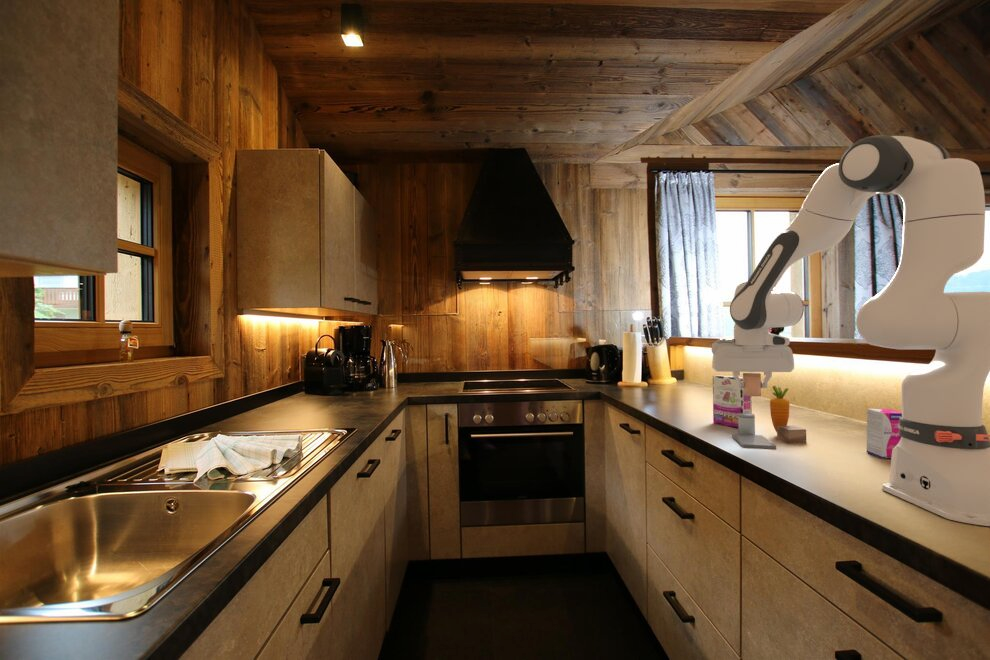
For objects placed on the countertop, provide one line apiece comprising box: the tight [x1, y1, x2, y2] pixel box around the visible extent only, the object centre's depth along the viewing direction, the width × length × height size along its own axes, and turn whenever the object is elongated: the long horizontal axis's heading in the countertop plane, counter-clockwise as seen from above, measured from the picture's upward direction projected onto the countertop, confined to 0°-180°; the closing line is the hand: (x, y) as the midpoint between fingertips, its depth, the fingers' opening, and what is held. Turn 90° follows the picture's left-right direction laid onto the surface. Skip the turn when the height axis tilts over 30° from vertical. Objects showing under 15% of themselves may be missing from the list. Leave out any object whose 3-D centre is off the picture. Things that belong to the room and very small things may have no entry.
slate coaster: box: [731, 433, 777, 450], centre depth 128 cm, size 12×8×1 cm, turn 165°
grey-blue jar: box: [737, 413, 756, 435], centre depth 137 cm, size 4×4×6 cm
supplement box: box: [866, 408, 902, 459], centre depth 113 cm, size 6×6×12 cm
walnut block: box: [776, 425, 807, 445], centre depth 129 cm, size 5×5×4 cm
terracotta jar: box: [742, 372, 762, 397], centre depth 128 cm, size 4×4×6 cm
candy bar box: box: [712, 374, 753, 429], centre depth 150 cm, size 11×5×16 cm, turn 25°
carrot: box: [769, 385, 790, 433], centre depth 135 cm, size 5×5×15 cm
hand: (752, 387), depth 128 cm, fingers closed on terracotta jar, 4 cm apart
